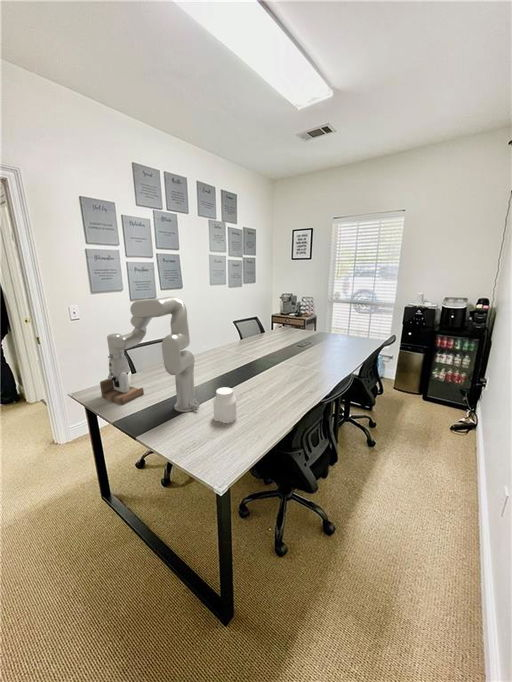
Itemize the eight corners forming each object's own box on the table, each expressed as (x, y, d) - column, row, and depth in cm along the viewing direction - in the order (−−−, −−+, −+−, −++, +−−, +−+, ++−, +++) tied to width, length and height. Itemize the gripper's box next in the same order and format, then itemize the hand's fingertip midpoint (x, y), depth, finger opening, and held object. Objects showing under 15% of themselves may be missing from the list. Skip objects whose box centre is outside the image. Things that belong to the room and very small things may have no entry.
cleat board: (143, 394, 166) (142, 379, 163) (123, 404, 154) (121, 388, 151) (122, 388, 174) (120, 373, 171) (102, 397, 162) (99, 381, 159)
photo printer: (130, 390, 163) (128, 370, 159) (124, 393, 159) (121, 373, 156) (119, 387, 168) (116, 367, 164) (112, 389, 164) (109, 370, 161)
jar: (210, 419, 140) (209, 392, 136) (221, 410, 149) (220, 384, 145) (229, 425, 135) (229, 397, 131) (239, 416, 143) (239, 389, 140)
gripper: (108, 360, 149) (112, 392, 154) (134, 352, 163) (137, 381, 168) (98, 358, 152) (103, 389, 157) (125, 350, 167) (128, 379, 171)
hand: (121, 385), depth 162 cm, fingers closed on photo printer, 4 cm apart
